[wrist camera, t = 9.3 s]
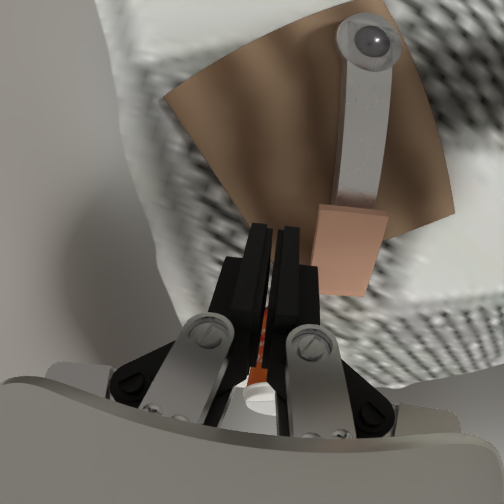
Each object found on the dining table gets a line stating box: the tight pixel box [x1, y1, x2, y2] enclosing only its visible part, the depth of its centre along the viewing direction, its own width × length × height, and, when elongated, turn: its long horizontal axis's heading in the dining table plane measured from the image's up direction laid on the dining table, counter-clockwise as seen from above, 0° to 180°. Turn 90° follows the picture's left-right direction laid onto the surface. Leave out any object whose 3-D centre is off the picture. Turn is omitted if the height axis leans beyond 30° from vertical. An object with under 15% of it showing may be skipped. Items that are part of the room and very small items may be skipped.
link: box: [331, 13, 401, 210], centre depth 22 cm, size 20×5×4 cm, turn 2°
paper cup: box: [243, 308, 276, 416], centre depth 36 cm, size 8×8×14 cm
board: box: [163, 0, 455, 265], centre depth 26 cm, size 22×24×1 cm
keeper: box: [310, 204, 389, 297], centre depth 29 cm, size 10×6×6 cm, turn 0°
